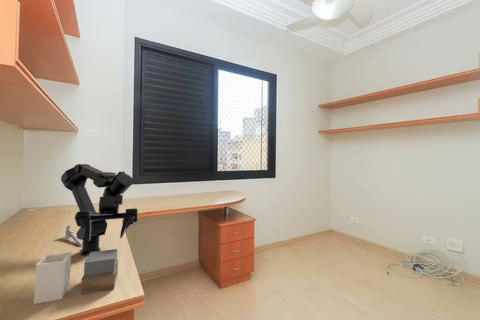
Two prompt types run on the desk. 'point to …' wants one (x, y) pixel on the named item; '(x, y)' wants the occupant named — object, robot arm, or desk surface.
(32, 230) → the desk surface
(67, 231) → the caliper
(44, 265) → the white open box
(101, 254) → the gray block
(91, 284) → the walnut block
